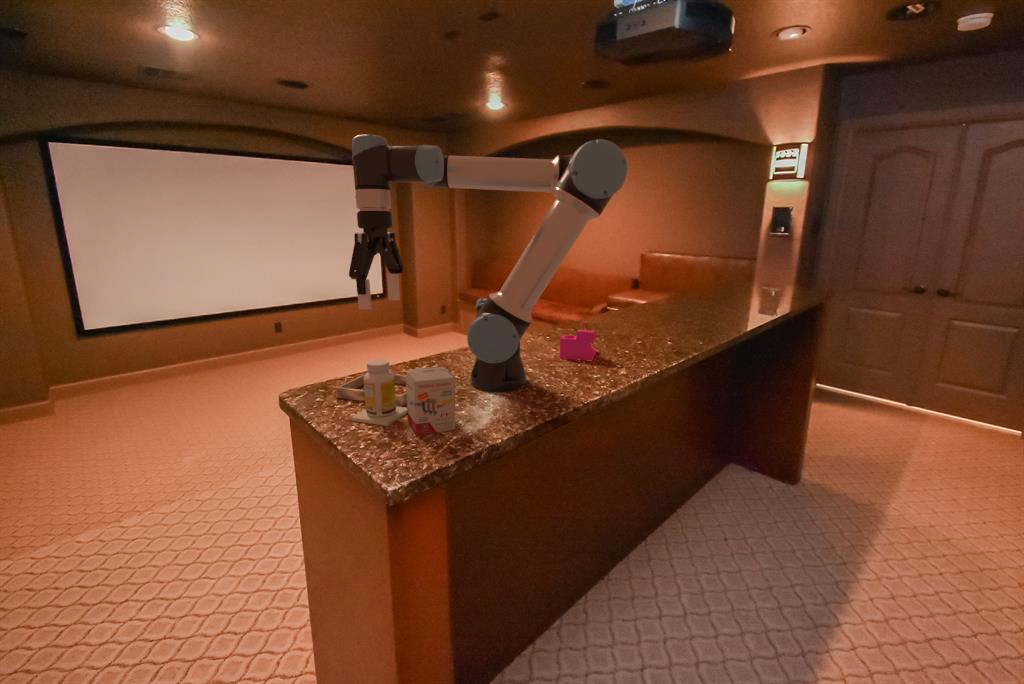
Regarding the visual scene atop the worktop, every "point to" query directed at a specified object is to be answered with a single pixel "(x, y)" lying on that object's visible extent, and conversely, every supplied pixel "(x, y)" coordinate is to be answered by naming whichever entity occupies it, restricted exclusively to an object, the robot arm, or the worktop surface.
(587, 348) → the magenta stepped block
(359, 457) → the worktop surface
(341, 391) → the corral
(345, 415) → the worktop surface
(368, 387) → the pill bottle
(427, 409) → the ink box
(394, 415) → the coaster
